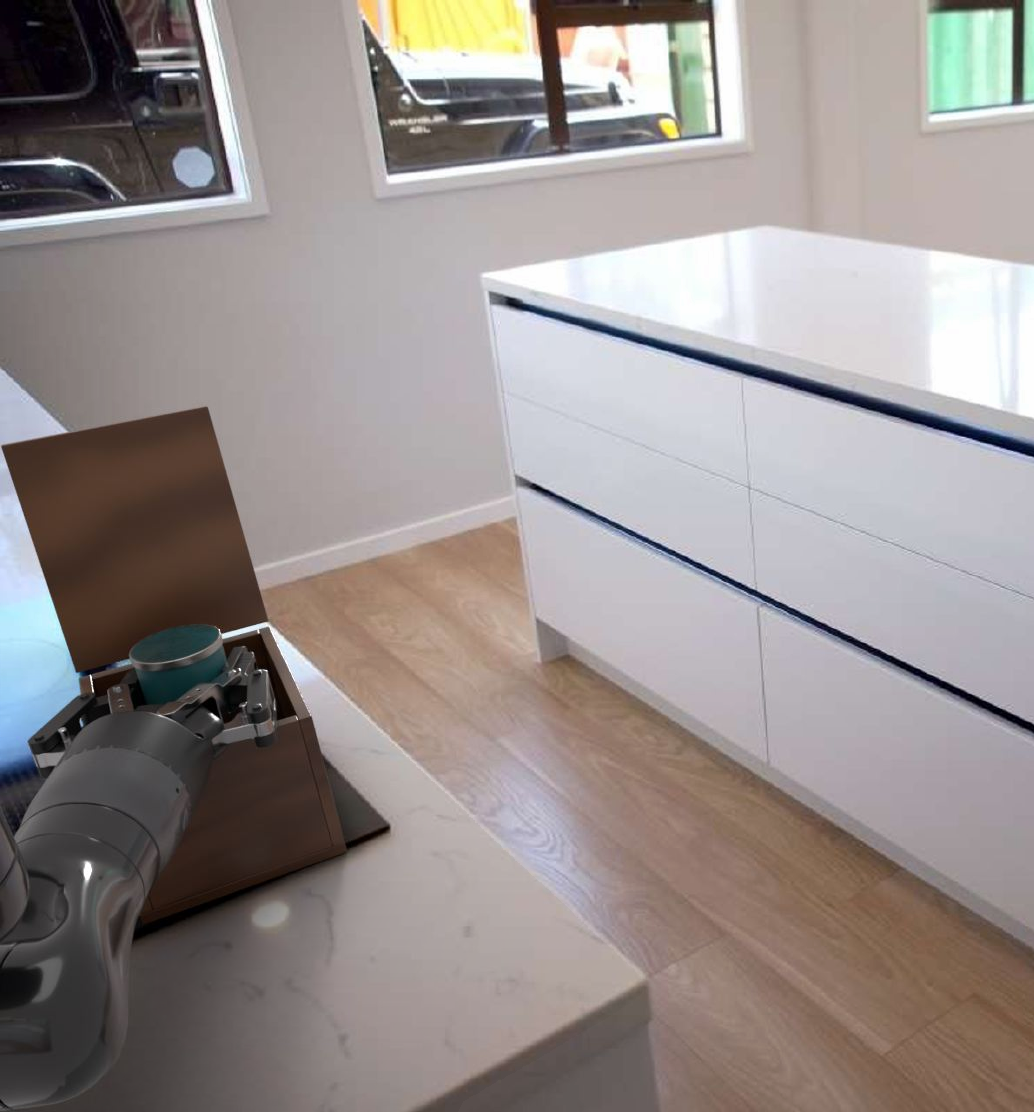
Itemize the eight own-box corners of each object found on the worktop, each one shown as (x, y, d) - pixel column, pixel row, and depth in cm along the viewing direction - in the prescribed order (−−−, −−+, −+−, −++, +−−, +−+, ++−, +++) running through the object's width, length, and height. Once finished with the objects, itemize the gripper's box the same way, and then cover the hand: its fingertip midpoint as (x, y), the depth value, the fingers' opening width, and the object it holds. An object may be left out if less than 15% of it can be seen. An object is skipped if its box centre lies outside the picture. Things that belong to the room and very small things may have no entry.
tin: (191, 793, 82) (152, 671, 78) (152, 767, 85) (113, 649, 81) (269, 755, 85) (236, 636, 82) (229, 731, 88) (195, 616, 85)
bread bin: (347, 852, 86) (311, 715, 81) (143, 925, 80) (92, 782, 75) (302, 749, 98) (269, 625, 94) (122, 806, 92) (78, 677, 88)
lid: (207, 406, 89) (206, 405, 89) (0, 445, 83) (1, 444, 83) (268, 621, 93) (267, 619, 94) (76, 673, 87) (76, 670, 88)
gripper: (235, 731, 69) (296, 600, 84) (-49, 771, 67) (67, 629, 82) (268, 843, 72) (321, 697, 88) (-3, 885, 70) (101, 728, 85)
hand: (197, 665), depth 85 cm, fingers closed on tin, 5 cm apart
